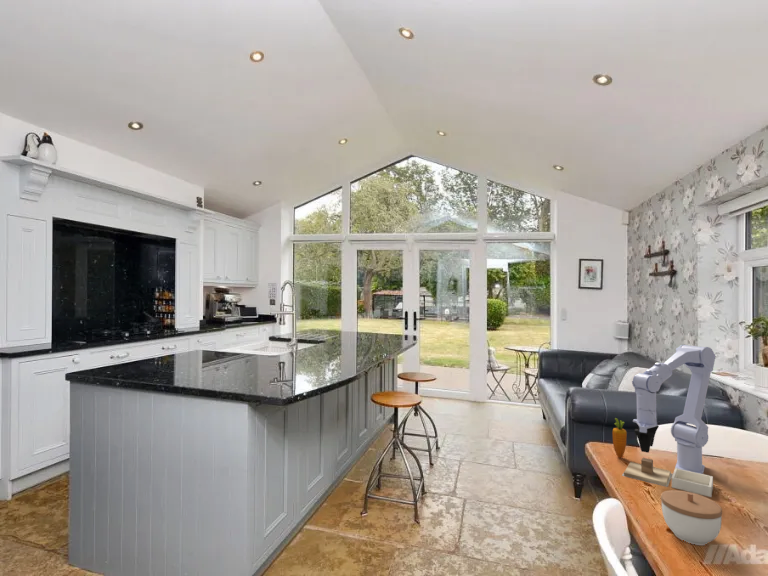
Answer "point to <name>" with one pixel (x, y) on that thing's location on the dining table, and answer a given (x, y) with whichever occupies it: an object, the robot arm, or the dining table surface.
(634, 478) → the rubber mat
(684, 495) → the lidded bowl
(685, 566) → the dining table surface
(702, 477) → the cream dish
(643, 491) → the dining table surface
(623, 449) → the carrot
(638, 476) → the oak lid
